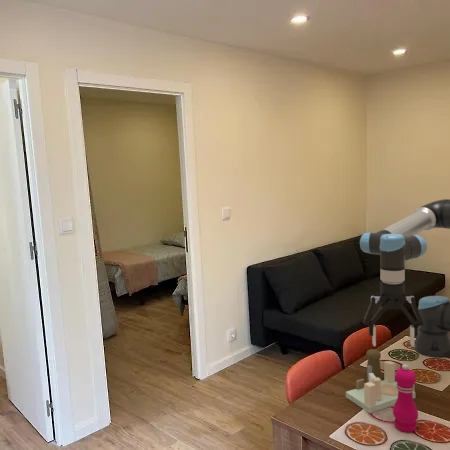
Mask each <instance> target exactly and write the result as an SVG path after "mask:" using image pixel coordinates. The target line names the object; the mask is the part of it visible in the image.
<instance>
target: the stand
mask: <svg viewBox="0 0 450 450" xmlns="http://www.w3.org/2000/svg"><path fill="white" fill-rule="evenodd" d="M383 367H384V368H383V369H384V370H383V377H384V379H382V381H381V400H376V385H375V384H373V383H371V382H369V373H372V366H370V365H368V366H367V365H366V370H367V379H366V381H367V382H365V379H364V378H360V379H357V380H355V388H354V389H351V390H348V391H345V398H346V399H348V400H350V402H352V403H354V404H355V405H357V406H358V407H360V408H362V409H363V410H364V411H366V412H368V413H369V414H372V413H375V412H378V411H381V410H384V409H387V408H390V407H394V404H395V402H396V400H397V398H398V390H397V388H396V387H397V385H396V384H397V382H396V380H395V373H396V371H395V368H396V367H395V362H394V361H391V360H386V361H384V362H383ZM412 395H413V400H414V399H416V392H415V390H414V391H413V394H412Z"/></svg>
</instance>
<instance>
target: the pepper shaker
mask: <svg viewBox="0 0 450 450" xmlns="http://www.w3.org/2000/svg"><path fill="white" fill-rule="evenodd" d="M365 354H366V355H365V356H366V358H367V362H366V363H367V365H366V367H367V366H368V365H370V366H372V373H373V374H374V375H375V377H379V378H380V380H381V381H383V375H382V368H381V361H380V359H381V357H382V354H381V352H380V350H378V349H375V348H370V349H368V350H367V351H366V353H365ZM365 379H366V380H367V369H366V372H365Z"/></svg>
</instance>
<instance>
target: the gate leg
mask: <svg viewBox="0 0 450 450" xmlns="http://www.w3.org/2000/svg"><path fill="white" fill-rule="evenodd" d="M369 382H371V383H373V384H375V385H376V400H381V380H380V378H379V377H375V375H374V374H373V373H369Z"/></svg>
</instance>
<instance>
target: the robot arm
mask: <svg viewBox="0 0 450 450" xmlns="http://www.w3.org/2000/svg"><path fill="white" fill-rule="evenodd" d="M435 228H436V229H449V230H450V199H449V198H444V199H443V198H442V199H437V200H434V201H432V202H428V203H426V204H424V205H422V206H420V207H417V208H416V209H414V211H413V213H412V214H409V215H408V216H406V217H405V218H402V219H400V220H399V221H397V222H395V223H393V224H391V225H389V226H387V227H385V228H383V229H381V230H379V231H376V232H364V233H363V234H362V235H361V237H360V239H359V246H360V247H359V248H360V250H361V251H362V252H364V253H366V254H370V255H377V256H378V255H379V258H380V259H379V260H380V262H379V263H380V264H379V265H380V266H379V267H380V268H379V269H380V271H379V272H380V273H379V274H380V280H381V281H380V289H379V290H380V295H379V296H375V295H371V296H370V303H369V304H368V308H367V310H366V312H365V315H364V317H363V320H362V322H363V325H364V326H368V335H369V336H370V337H372V340H371V341H372V346H373V347H376V346H377V333H376V332H377V329H376V323H377V322H378V320H379V319H380V318H381V317H382V315H383V314H384V312H386V310H387V311H388V310H401V311H402V312H403V314H404V315H405V317H406V318H407V319H408V321H410V323H411V324H409V344H410V346H411V347H412V348H413V349H414V350H415V352H417V353H418V354H421V355H423V356H427V357H432V358H434V357H435V358H447V357H449V356H450V298H449V297H447V296H444V295H429V296H424V297H422V298H420V299H419V301H418V306H417V304H416V303H417V302H416V298H415V296H414V295H410V296H406V290H405V289H406V283H405V280H406V277H405V275H406V273H405V272H406V268H405V266H406V265H405V263H406V261H409V260H412V259H418V258H419V257H421V256H423V255H424V254H425V253H426V252H427V250H428V243H427V242H426V240H425V238H424V237H422V236H420V235H417V234H419V233H421V232H423V231H430V230H432V229H435ZM406 301H407V303H409V304H410V306H411V307H412V311H413V313H414V315H415V318H416V320H415V318H414V317H412V315H411V314H410V313H409V311H408V310H407V309H406V307H405V306H404V304H405V303H406ZM378 302H380V303H381V304H380V305H379V307H378V309H377V311H375V313H374V314H373V312H374V309H375V307H376V304H377V303H378ZM372 314H373V315H372ZM371 316H372V317H371Z"/></svg>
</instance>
